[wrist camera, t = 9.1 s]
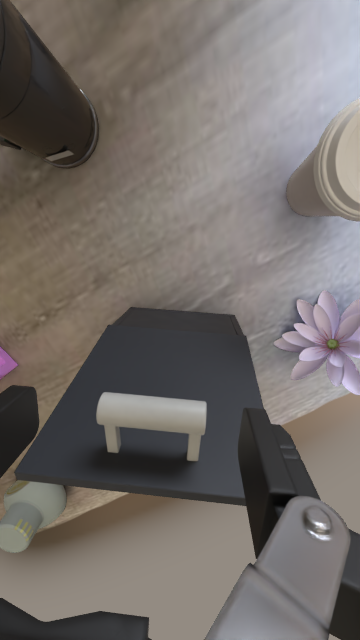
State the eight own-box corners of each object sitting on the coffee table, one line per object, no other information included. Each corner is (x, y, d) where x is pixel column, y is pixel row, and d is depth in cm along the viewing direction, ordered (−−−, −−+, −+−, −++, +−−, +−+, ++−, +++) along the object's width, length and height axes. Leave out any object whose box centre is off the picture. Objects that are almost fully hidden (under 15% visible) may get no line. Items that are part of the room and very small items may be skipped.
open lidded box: (223, 411, 45) (228, 457, 35) (129, 403, 46) (111, 444, 36) (234, 314, 40) (245, 337, 31) (130, 307, 41) (109, 326, 32)
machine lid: (284, 511, 15) (309, 451, 13) (16, 480, 16) (-10, 419, 14) (245, 341, 30) (253, 299, 28) (108, 330, 31) (104, 288, 29)
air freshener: (37, 510, 54) (2, 568, 44) (10, 480, 52) (-33, 534, 43) (79, 489, 52) (52, 546, 42) (52, 458, 50) (17, 509, 40)
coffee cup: (356, 214, 35) (464, 195, 21) (282, 238, 37) (335, 235, 22) (345, 135, 33) (457, 51, 19) (266, 163, 34) (313, 106, 20)
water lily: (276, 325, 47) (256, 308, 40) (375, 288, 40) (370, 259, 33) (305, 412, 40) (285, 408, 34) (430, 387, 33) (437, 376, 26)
